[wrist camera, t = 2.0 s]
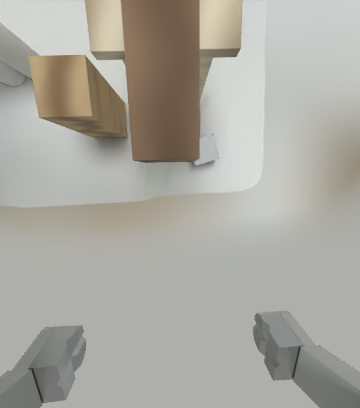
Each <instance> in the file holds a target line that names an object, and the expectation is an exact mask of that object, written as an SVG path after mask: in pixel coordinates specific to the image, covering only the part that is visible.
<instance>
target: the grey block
mask: <svg viewBox="0 0 360 408" xmlns="http://www.w3.org/2000/svg"><path fill="white" fill-rule="evenodd" d="M217 159H220V158H219V154H218V150H217V146H216V142H215V138H214V133H213V134H210V135H207V136H204V137H200V159H198V160H196V161H192V162H193V166H197V165H200V164H203V163H207V162H210V161H213V160H217Z"/></svg>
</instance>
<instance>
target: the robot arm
mask: <svg viewBox="0 0 360 408" xmlns="http://www.w3.org/2000/svg"><path fill="white" fill-rule="evenodd" d="M255 321H256V325H255V326H254V328H253V334H254V340H255V343H256V345H257V347H258V350H259V351H260V352H261V353H262V354H263V355H265V361H264V362H265V365H266V367H267V369H268V371H269V373H270V375H271V377H272V379H273V380H290V379H293V381H294V382H295V383H296V384H297V385H298V386H299V387H300V388H301V389H302V390H303V391H304V392H305V393H306V394H307V395H308V396H309V397H310V398H311V399H312V400H313V401H314V402H315V403H316V404H317V405H318V406H319V407H320V408H360V372H359V371H358V370H356V369H355V368H353V367H351V366H350V365H348V364H347V363H345V362H344V361H342V360H341V359H339V358H338V357H336V356H335V355H333V354H332V353H330V352H329V351H327V350H326V349H324V348H323V347H321V346H320V345H315V344H314V342H313V341H312V340H311V338H310V337H309V336H308V335H307V333H306V332H305V331H304V330H303V328H302V327H301V326H300V325H299V323H298V322H297V321H296V320H295V319H294V317H293V316H292V315H291V313H290V312H288V311H278V312H263V313H256V315H255ZM83 332H84V331H83V327H82V326H58V327H46V328H44V329H43V330H42V331H41V332H40V333H39V335H38V336H37V337H36V339H35V340H34V341H33V343H32V344H31V345H30V347H29V348H28V350H27V351H26V352H25V354H24V355H23V356H22V358H21V359H20V360H19V362H18V363H17V364H16V366H15V367H14V368H13V370H12V371H7V372H6V373H5V374H3V375H2V376H1V377H0V408H40V407H41V406H42V403H47V402H55V401H62V400H66V398H67V396H68V394H69V391H70V389H71V387H72V384H73V382H74V380H75V375H74V372H75V371H76V370H77V369H78V367H80V365H81V363H82V361H83V358H84V354H85V350H86V341H85V338H83V337H82V334H83Z"/></svg>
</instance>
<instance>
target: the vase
mask: <svg viewBox="0 0 360 408" xmlns="http://www.w3.org/2000/svg"><path fill="white" fill-rule="evenodd" d="M28 56H39V55H38V54H37V53H36V52H35V51H33V50H32V49H31V48H30V47H29V46H28V45H27V44H25V43H24V42H23V41H22V40H21V39H19V38H18V37H17V36H16V35H14V34H13V33H12V32H11V31H10V30H8V29H7V28H6V27H5V26H4V25H2V24H1V23H0V82H2V83H4V84H6V85H8V86H11V87H17V86H19V85H21V84H22V83H23V82H24V81H25V79H26V76H27V77H29V78H30V79H32V74H31V69H30V63H29V57H28Z"/></svg>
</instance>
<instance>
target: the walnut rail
mask: <svg viewBox="0 0 360 408" xmlns="http://www.w3.org/2000/svg"><path fill="white" fill-rule="evenodd" d="M121 11H122V24H123V37H124V51H125V64H126V77H127V90H128V103H129V116H130V129H131V142H132V155H133V160H134V161H140V162H145V163H149V162H191V161H196V160H198V159H200V0H121Z"/></svg>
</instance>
